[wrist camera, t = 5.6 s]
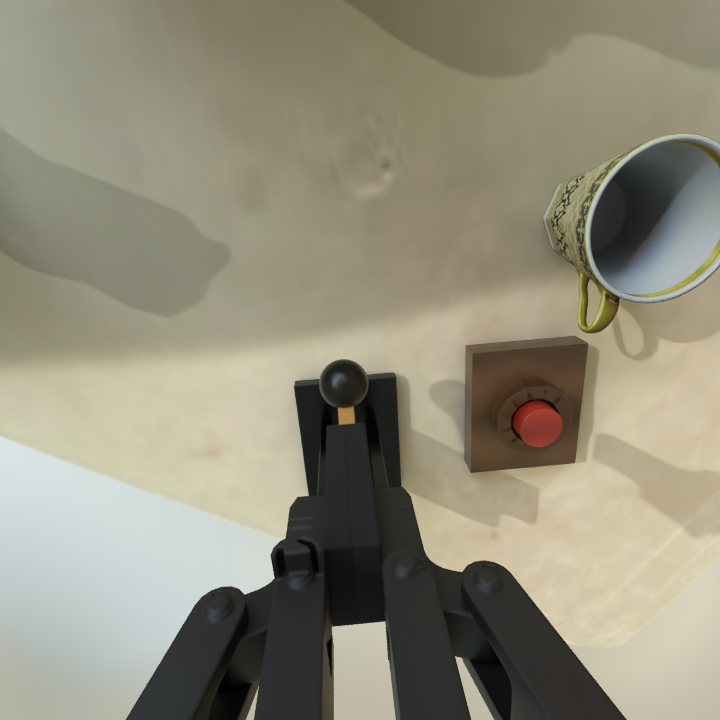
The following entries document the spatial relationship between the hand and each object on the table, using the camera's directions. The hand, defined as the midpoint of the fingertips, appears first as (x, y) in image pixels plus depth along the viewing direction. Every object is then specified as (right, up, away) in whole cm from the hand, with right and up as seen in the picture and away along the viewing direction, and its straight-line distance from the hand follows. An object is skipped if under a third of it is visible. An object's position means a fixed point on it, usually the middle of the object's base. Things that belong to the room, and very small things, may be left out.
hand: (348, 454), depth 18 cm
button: (+15, -1, +21) cm, 26 cm away
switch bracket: (-1, -3, +25) cm, 25 cm away
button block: (+15, 0, +25) cm, 29 cm away
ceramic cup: (+18, +14, +20) cm, 30 cm away
